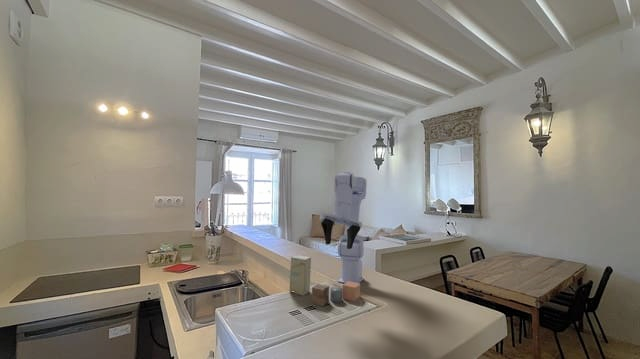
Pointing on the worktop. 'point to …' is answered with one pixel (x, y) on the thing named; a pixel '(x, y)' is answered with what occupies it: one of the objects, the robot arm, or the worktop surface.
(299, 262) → the skincare box
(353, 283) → the terracotta cube
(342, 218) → the robot arm
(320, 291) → the walnut block
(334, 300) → the blue-grey short cylinder
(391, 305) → the worktop surface
